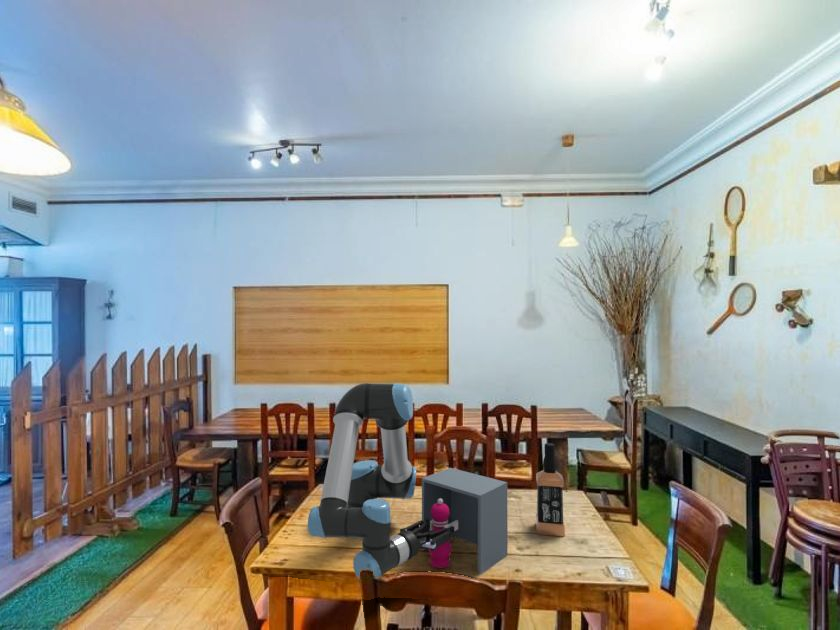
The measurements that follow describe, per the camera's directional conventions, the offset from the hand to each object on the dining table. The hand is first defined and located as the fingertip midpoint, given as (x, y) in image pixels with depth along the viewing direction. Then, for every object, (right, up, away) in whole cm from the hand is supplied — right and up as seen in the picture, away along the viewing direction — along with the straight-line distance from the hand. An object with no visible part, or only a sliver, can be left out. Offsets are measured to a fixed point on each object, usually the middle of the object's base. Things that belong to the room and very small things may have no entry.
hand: (450, 522), depth 148 cm
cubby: (+5, -13, +6) cm, 15 cm away
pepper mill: (-3, -11, -4) cm, 12 cm away
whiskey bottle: (+39, -13, +23) cm, 47 cm away
